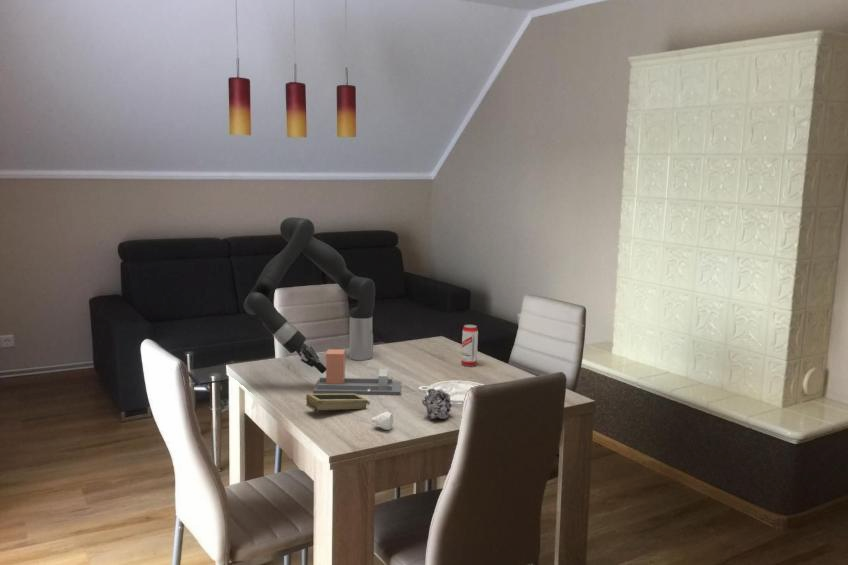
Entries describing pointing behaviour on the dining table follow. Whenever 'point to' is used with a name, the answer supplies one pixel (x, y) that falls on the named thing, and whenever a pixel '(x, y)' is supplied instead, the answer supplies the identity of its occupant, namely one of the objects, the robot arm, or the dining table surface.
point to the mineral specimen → (437, 404)
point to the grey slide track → (361, 386)
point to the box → (335, 401)
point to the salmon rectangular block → (335, 366)
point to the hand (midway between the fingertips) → (324, 371)
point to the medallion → (452, 390)
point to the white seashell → (384, 420)
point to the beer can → (469, 345)
